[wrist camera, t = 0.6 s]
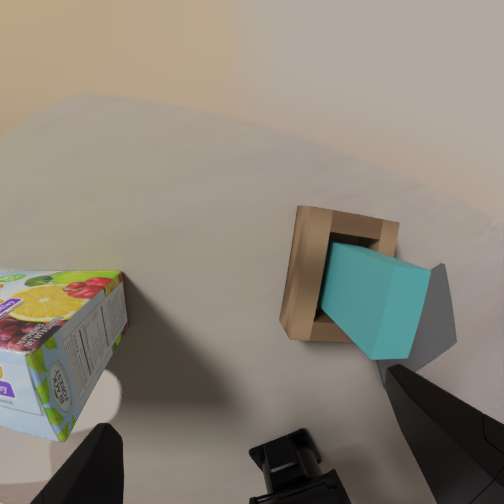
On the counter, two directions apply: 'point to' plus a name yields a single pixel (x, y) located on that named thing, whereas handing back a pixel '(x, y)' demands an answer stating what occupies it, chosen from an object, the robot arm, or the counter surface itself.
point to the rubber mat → (429, 326)
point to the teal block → (373, 298)
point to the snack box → (55, 345)
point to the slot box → (312, 265)
